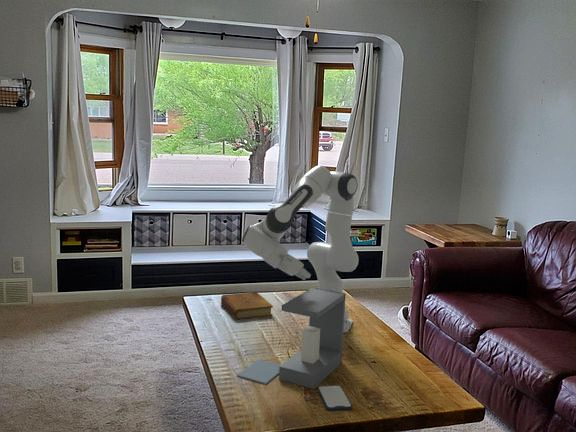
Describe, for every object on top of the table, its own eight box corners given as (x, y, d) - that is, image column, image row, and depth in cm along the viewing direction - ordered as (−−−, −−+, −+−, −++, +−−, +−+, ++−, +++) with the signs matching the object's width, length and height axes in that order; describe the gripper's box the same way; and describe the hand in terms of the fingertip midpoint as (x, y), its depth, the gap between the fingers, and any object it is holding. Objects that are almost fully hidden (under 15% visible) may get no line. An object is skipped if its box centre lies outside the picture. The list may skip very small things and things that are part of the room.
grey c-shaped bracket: (309, 354, 226) (312, 287, 222) (341, 362, 220) (345, 293, 215) (278, 379, 204) (281, 305, 199) (313, 388, 197) (317, 312, 193)
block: (306, 356, 213) (308, 325, 211) (318, 358, 210) (320, 328, 208) (300, 360, 208) (302, 329, 206) (313, 363, 206) (314, 332, 204)
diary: (221, 306, 282) (221, 295, 281) (256, 302, 290) (256, 291, 289) (235, 321, 262) (235, 309, 261) (272, 317, 269) (272, 305, 268)
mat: (259, 360, 219) (259, 359, 218) (286, 367, 213) (286, 366, 213) (237, 376, 205) (237, 374, 204) (265, 384, 199) (265, 382, 199)
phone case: (316, 390, 198) (326, 412, 182) (316, 386, 198) (326, 408, 182) (340, 389, 199) (353, 411, 184) (341, 385, 199) (353, 406, 183)
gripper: (286, 246, 207) (317, 268, 207) (280, 253, 227) (307, 273, 227) (277, 260, 205) (307, 282, 205) (271, 265, 225) (299, 285, 225)
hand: (307, 277), depth 216 cm, fingers open, 8 cm apart
